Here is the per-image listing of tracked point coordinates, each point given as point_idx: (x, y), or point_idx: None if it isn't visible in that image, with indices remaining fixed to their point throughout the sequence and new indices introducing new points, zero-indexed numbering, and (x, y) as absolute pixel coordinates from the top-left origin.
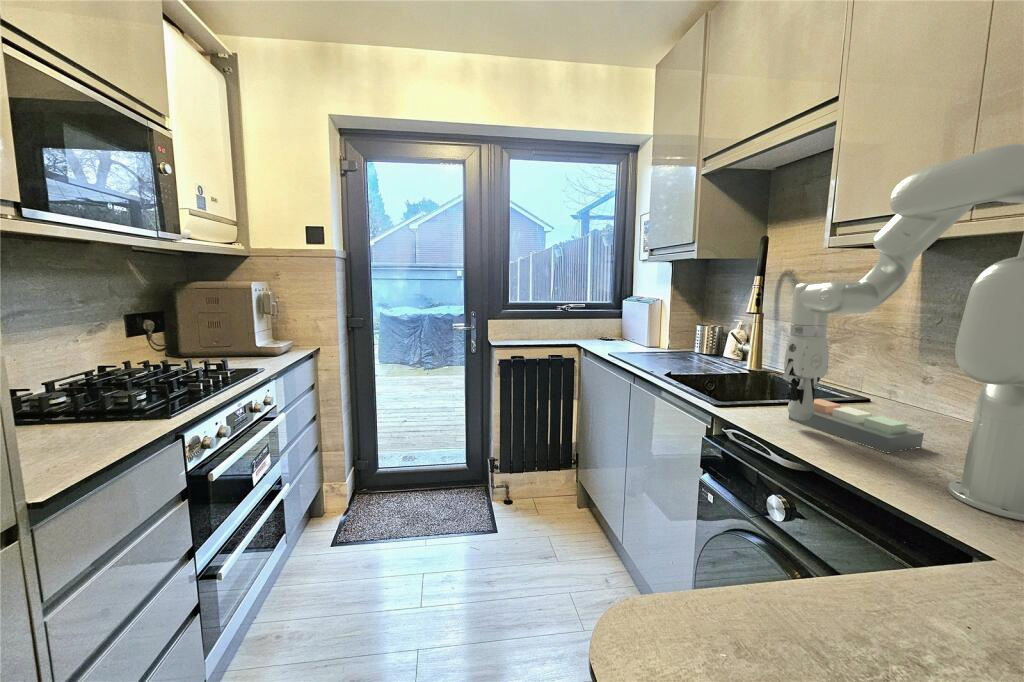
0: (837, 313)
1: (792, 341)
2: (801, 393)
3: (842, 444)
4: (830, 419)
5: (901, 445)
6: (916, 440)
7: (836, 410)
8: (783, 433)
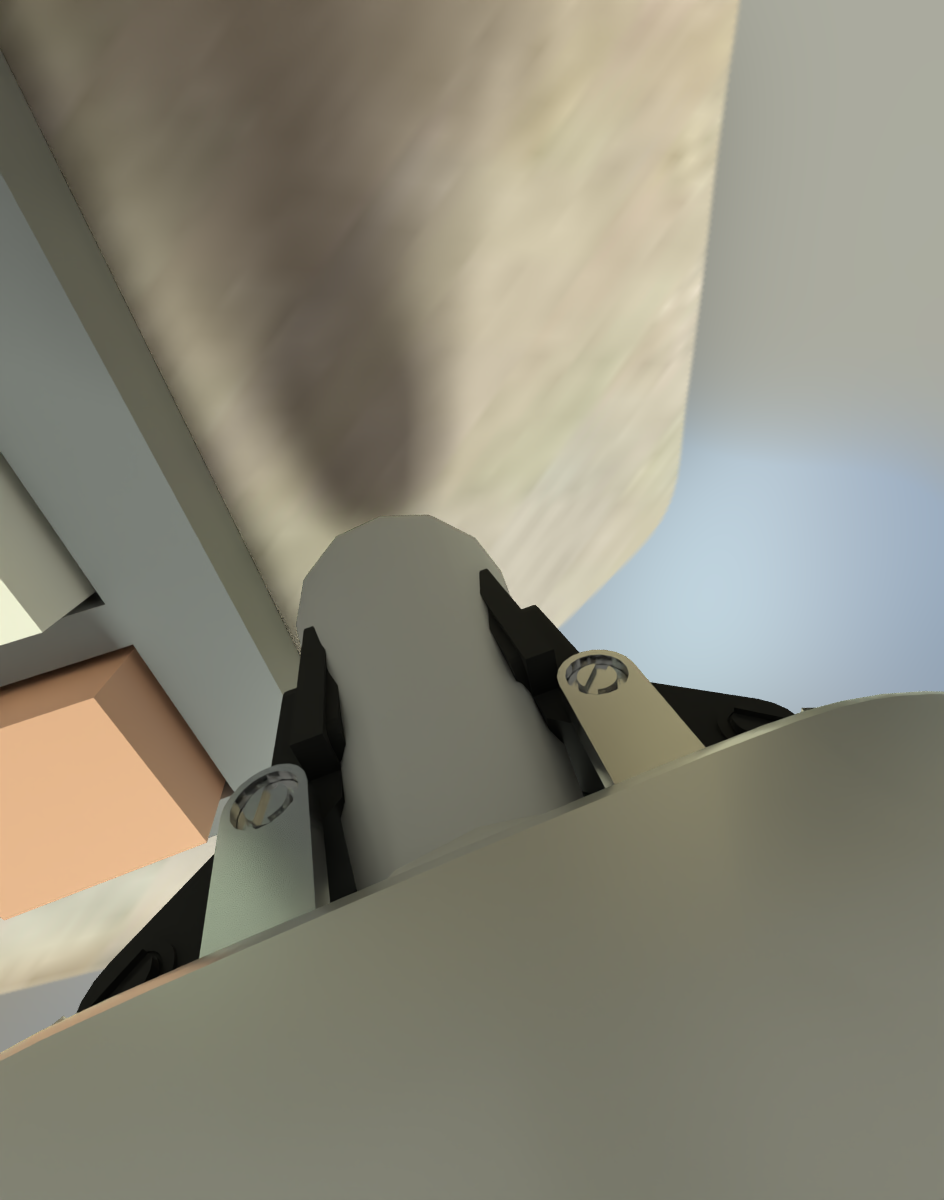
0: None
1: None
2: (533, 627)
3: (256, 207)
4: (173, 496)
5: None
6: None
7: (22, 594)
8: (548, 469)
